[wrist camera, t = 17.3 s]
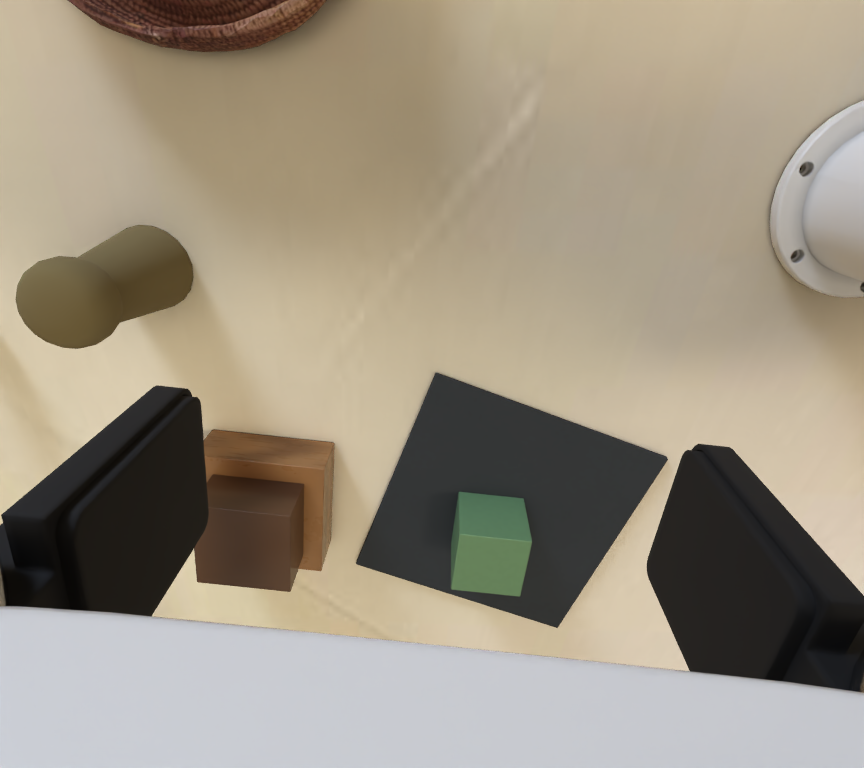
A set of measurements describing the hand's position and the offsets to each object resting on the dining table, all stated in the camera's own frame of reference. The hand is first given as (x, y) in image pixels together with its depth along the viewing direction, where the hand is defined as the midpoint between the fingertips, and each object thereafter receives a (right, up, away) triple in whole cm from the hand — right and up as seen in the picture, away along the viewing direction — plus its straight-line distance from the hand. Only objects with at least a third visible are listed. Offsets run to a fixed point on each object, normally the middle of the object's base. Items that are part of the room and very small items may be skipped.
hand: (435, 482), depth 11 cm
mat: (+6, -9, +37) cm, 39 cm away
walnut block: (-14, -8, +33) cm, 37 cm away
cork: (-20, +10, +30) cm, 37 cm away
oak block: (-14, -7, +37) cm, 40 cm away
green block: (+5, -10, +37) cm, 39 cm away
